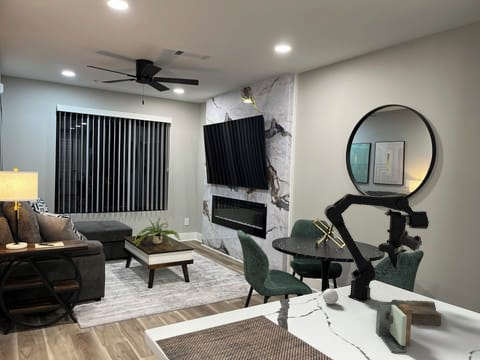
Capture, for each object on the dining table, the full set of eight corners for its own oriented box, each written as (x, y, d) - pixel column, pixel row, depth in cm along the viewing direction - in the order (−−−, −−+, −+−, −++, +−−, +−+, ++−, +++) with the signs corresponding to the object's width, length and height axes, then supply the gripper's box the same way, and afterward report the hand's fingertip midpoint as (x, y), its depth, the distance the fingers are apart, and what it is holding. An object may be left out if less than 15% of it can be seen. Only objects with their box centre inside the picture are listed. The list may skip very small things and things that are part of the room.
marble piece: (434, 310, 131) (435, 299, 131) (452, 329, 116) (453, 316, 116) (387, 306, 133) (387, 295, 133) (399, 324, 119) (400, 312, 118)
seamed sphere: (319, 302, 135) (319, 287, 134) (330, 300, 137) (331, 285, 137) (333, 310, 128) (333, 294, 128) (345, 307, 130) (345, 292, 130)
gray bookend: (375, 332, 111) (377, 301, 111) (401, 333, 111) (403, 302, 111) (390, 352, 100) (392, 317, 99) (419, 353, 99) (421, 318, 99)
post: (397, 339, 107) (399, 304, 107) (404, 339, 107) (406, 304, 107) (403, 346, 103) (405, 309, 103) (410, 346, 103) (412, 310, 103)
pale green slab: (387, 331, 108) (388, 304, 108) (393, 332, 108) (395, 305, 108) (398, 345, 101) (399, 316, 100) (405, 345, 100) (406, 316, 100)
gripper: (409, 233, 125) (406, 277, 126) (428, 228, 138) (426, 268, 139) (378, 228, 133) (376, 270, 134) (399, 224, 146) (397, 261, 147)
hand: (395, 267), depth 138 cm, fingers closed
